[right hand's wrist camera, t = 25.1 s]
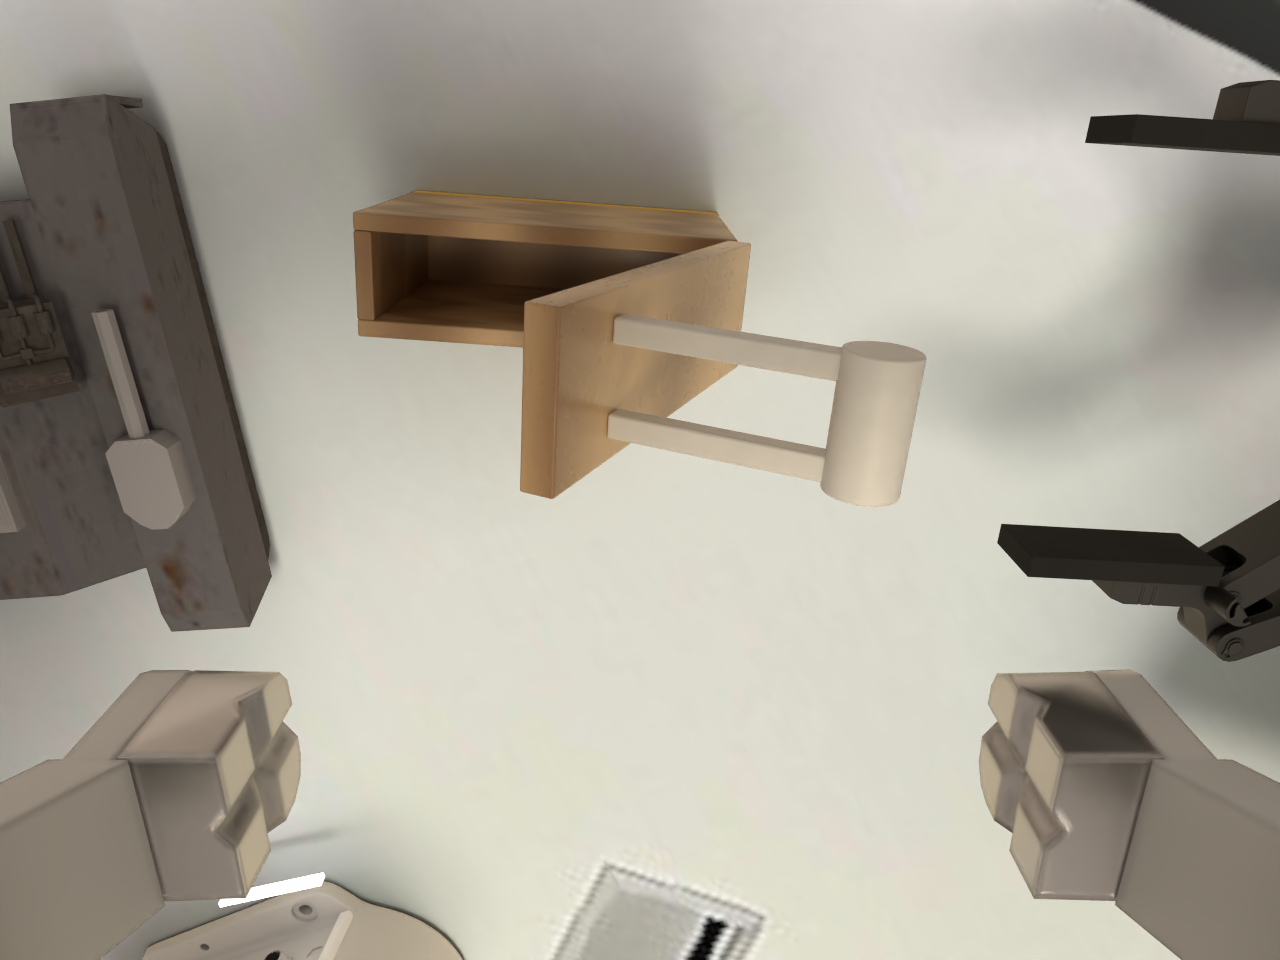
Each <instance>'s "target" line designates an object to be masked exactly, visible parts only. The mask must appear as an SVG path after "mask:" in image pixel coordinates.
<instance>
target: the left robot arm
mask: <svg viewBox="0 0 1280 960" xmlns="http://www.w3.org/2000/svg"><path fill="white" fill-rule="evenodd" d="M1085 143H1097V144H1112V145H1127V146H1142V147H1157V148H1172V149H1187V150H1202V151H1216V152H1231V153H1246V154H1261V155H1276V156H1280V81H1278V80H1265V81H1254V82H1244V83H1238V84H1235V85H1232V86H1229V87H1226V88H1223V89H1221V91H1220V94H1219V98H1218V102H1217V106H1216V110H1215V113H1214V117H1213V120H1211V119H1197V118H1182V117H1167V116H1152V115H1138V114H1136V115H1115V116H1094V117H1091V118H1090V123H1089V128H1088V132H1087V137H1086V141H1085ZM997 543H998V544H999V545H1000V546H1001V548H1002V549H1003V550H1004V551H1005V552H1006V553H1007V554H1008V555H1009V556H1010V558H1011V559H1012V560H1013V561H1014V562H1015V563H1016V564H1017V565H1018V566H1019V567H1020V569H1021V570H1022V571H1023V572H1024V573H1025V574H1026V575H1027V576H1028V577H1044V578H1063V579H1082V580H1092V581H1093V582H1094V583H1095V584H1096V585H1097V586H1098V587H1100V588H1101V589H1102V590H1103V591H1104V592H1105V593H1106V594H1107V595H1108V596H1109V597H1110V598H1112V599H1114V600H1116V601H1118V602H1121V603H1123V604H1141V605H1150V604H1151V605H1159V606H1178V607H1180V609H1179V611H1178V613H1177V619H1178V621H1179V622H1180V624H1181V625H1183V626H1184V627H1185V628H1186V629H1187V630H1188V631H1189V632H1190V633H1192V634H1193V635H1194V636H1195V637H1196V638H1197V639H1198V640H1199V641H1201V642H1202V643H1203V644H1204V645H1205V646H1206V647H1207V648H1209V649H1210V650H1211V651H1212V652H1213V653H1214V654H1215V655H1217V656H1218V657H1219V658H1220V659H1222V660H1223V661H1229V662H1231V661H1236V660H1239V659H1242V658H1245V657H1248V656H1251V655H1254V654H1257V653H1260V652H1263V651H1266V650H1269V649H1272V648H1275V647H1278V646H1280V500H1279V501H1277V502H1275V503H1273V504H1272V505H1270V506H1268V507H1267V508H1265V509H1263V510H1262V511H1260V512H1258V513H1256V514H1255V515H1253V516H1251V517H1250V518H1248V519H1246V520H1245V521H1243V522H1241V523H1240V524H1238V525H1236V526H1234V527H1233V528H1231V529H1229V530H1228V531H1226V532H1224V533H1223V534H1221V535H1219V536H1217V537H1216V538H1214V539H1212V540H1211V541H1209V542H1207V543H1206V544H1204V545H1202V546H1201V547H1199V548H1198V547H1197V546H1196V545H1194V544H1193V543H1191V542H1190V541H1189V540H1187V539H1186V538H1185V537H1183V536H1182V535H1180V534H1178V533H1159V532H1141V531H1122V530H1104V529H1085V528H1067V527H1048V526H1030V525H1011V524H1001V529H1000V533H999V538H998V542H997Z"/></svg>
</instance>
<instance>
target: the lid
mask: <svg viewBox="0 0 1280 960" xmlns="http://www.w3.org/2000/svg"><path fill="white" fill-rule="evenodd" d="M750 249H751V244H750V243H744V242H735V241H726V242H722V243H719V244H716V245H712V246H709V247H706V248H702V249H699V250H696V251H693V252H689V253H686V254H683V255H679V256H676V257H673V258H669V259H666V260H663V261H659V262H656V263H653V264H649V265H646V266H643V267H639V268H636V269H633V270H629V271H626V272H623V273H619V274H616V275H613V276H609V277H606V278H603V279H599V280H596V281H593V282H589V283H586V284H583V285H579V286H576V287H573V288H569V289H566V290H563V291H559V292H556V293H553V294H549V295H546V296H543V297H539V298H536V299H533V300H530V301H526V302H525V304H524V346H523V389H522V433H521V477H520V490H521V492H525V493H529V494H533V495H537V496H542V497H546V498H550V499H553V498H555V497H556V496H558V495H559V494H561V493H562V492H563V491H565V490H566V489H568V488H569V487H570V486H572V485H573V484H574V483H576V482H577V481H579V480H580V479H581V478H583V477H584V476H586V475H587V474H588V473H590V472H591V471H593V470H594V469H595V468H597V467H598V466H600V465H601V464H602V463H604V462H605V461H606V460H608V459H609V458H611V457H612V456H613V455H615V454H616V453H618V452H619V451H620V450H622V449H623V448H625V447H626V446H627V445H629V444H630V443H635V444H640V445H644V446H649V447H654V448H659V449H664V450H669V451H673V452H678V453H683V454H688V455H693V456H697V457H702V458H707V459H712V460H717V461H721V462H726V463H731V464H736V465H741V466H746V467H750V468H755V469H760V470H765V471H770V472H774V473H779V474H784V475H789V476H794V477H798V478H803V479H808V480H813V481H818V482H821V484H820V485H821V489H822V490H823V491H824V493H826V494H827V495H829V496H830V497H832V498H834V499H836V500H839V501H842V502H845V503H849V504H853V505H858V506H867V507H882V506H888V505H891V504H894V503H896V502H897V501H898V499H899V498H900V493H901V488H902V482H903V477H904V472H905V467H906V462H907V456H908V451H909V446H910V441H911V436H912V430H913V425H914V420H915V415H916V410H917V404H918V399H919V394H920V389H921V384H922V378H923V373H924V368H925V363H926V356H925V354H923V353H922V352H920V351H918V350H916V349H913V348H910V347H907V346H903V345H898V344H892V343H886V342H876V341H855V342H849V343H846V344H844V345H843V346H842V348H841V347H835V346H828V345H822V344H815V343H809V342H803V341H796V340H790V339H783V338H777V337H771V336H764V335H758V334H751V333H745V332H741V329H742V320H743V311H744V302H745V293H746V285H747V276H748V267H749V258H750ZM737 364H738V365H744V366H750V367H755V368H761V369H767V370H773V371H779V372H785V373H791V374H797V375H803V376H809V377H815V378H820V379H826V380H832V381H836V387H835V394H834V400H833V407H832V413H831V419H830V426H829V432H828V439H827V445H826V449H823V448H818V447H813V446H808V445H803V444H798V443H793V442H788V441H782V440H777V439H772V438H767V437H762V436H757V435H752V434H747V433H741V432H736V431H731V430H726V429H721V428H716V427H711V426H706V425H700V424H695V423H690V422H685V421H680V420H675V419H670V418H666V417H668V416H669V415H670V414H672V413H673V412H675V411H676V410H677V409H679V408H680V407H682V406H683V405H684V404H686V403H687V402H689V401H690V400H691V399H693V398H694V397H696V396H697V395H698V394H700V393H701V392H702V391H704V390H705V389H707V388H708V387H709V386H711V385H712V384H714V383H715V382H716V381H718V380H719V379H721V378H722V377H723V376H725V375H726V374H728V373H729V372H730V371H732V370H733V369H734V368H736V367H737Z"/></svg>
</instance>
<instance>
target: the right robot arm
mask: <svg viewBox="0 0 1280 960" xmlns="http://www.w3.org/2000/svg"><path fill="white" fill-rule="evenodd" d="M291 705H292V701H291V696H290V691H289V687H288V682H287V679H286V678H285V677H284V676H283V675H282V674H281V673H279V672H245V671H196V670H195V671H189V670H152V671H148V672H145V673H141V674H139V676H138V677H137V678H136V679H135V680H134V681H133V682H132V683H131V684H130V685H129V686H128V688H127V689H126V690H125V691H124V692H123V693H122V694H121V695H120V696H119V698H118V699H117V700H116V701H115V702H114V703H113V704H112V705H111V706H110V708H109V709H108V710H107V711H106V712H105V713H104V714H103V715H102V716H101V717H100V719H99V720H98V721H97V722H96V723H95V724H94V725H93V726H92V727H91V729H90V730H89V731H88V732H87V733H86V734H85V735H84V736H83V737H82V739H81V740H80V741H79V742H78V743H77V744H76V745H75V746H74V747H73V748H72V750H71V751H70V752H69V753H68V754H67V755H66V756H65V757H64V758H63V760H46V761H44V762H42V763H40V764H38V765H36V766H34V767H32V768H30V769H28V770H26V771H24V772H22V773H20V774H18V775H16V776H14V777H12V778H10V779H8V780H6V781H4V782H1V783H0V960H99V959H100V958H102V957H103V956H104V955H105V954H106V953H108V952H109V951H110V950H111V949H113V948H114V947H115V946H116V945H117V944H119V943H120V942H121V941H122V940H123V939H125V938H126V937H127V936H128V935H129V934H131V933H132V932H133V931H134V930H135V929H137V928H138V927H139V926H140V925H141V924H143V923H144V922H145V921H146V920H148V919H149V918H150V917H151V916H152V915H154V914H155V913H156V912H157V911H158V910H160V909H161V908H162V907H163V906H164V905H165V903H164V901H178V900H213V899H221V900H220V901H219V903H218V904H219V906H220V907H224V906H229V905H233V904H238V903H243V902H247V901H252V900H257V899H261V898H266V897H271V896H275V895H279V896H277V897H274V898H272V899H269V900H266V901H264V902H261V903H259V904H256V905H253V906H251V907H248V908H246V909H243V910H241V911H238V912H235V913H233V914H230V915H228V916H225V917H223V918H220V919H217V920H215V921H212V922H210V923H207V924H204V925H202V926H199V927H197V928H194V929H192V930H189V931H186V932H184V933H181V934H179V935H176V936H174V937H171V938H168V939H166V940H163V941H161V942H158V943H156V944H154V945H152V946H150V947H148V948H147V950H146V952H145V954H144V956H143V958H142V960H463V959H462V958H461V956H460V954H459V953H458V952H457V950H456V949H455V948H454V946H453V945H452V944H451V943H450V942H449V941H448V940H447V939H446V938H445V937H444V936H442V935H441V934H440V933H439V932H437V931H436V930H435V929H433V928H432V927H430V926H429V925H427V924H425V923H424V922H422V921H420V920H418V919H416V918H414V917H412V916H409V915H407V914H404V913H401V912H398V911H395V910H392V909H388V908H384V907H380V906H376V905H373V904H370V903H367V902H364V901H362V900H360V899H359V898H357V897H356V896H354V895H353V894H351V893H350V892H348V891H346V890H345V889H343V888H341V887H339V886H337V885H335V884H333V883H330V882H326V881H323V880H324V878H325V875H324V873H319V874H314V875H310V876H305V877H300V878H296V879H291V880H286V881H282V882H277V883H273V884H268V885H263V886H259V887H254V888H252V886H253V884H254V882H255V880H256V878H257V876H258V874H259V872H260V870H261V868H262V866H263V864H264V863H265V861H266V859H267V857H268V855H269V853H270V851H271V850H270V845H269V840H268V834H267V833H268V832H270V831H271V830H273V829H274V828H275V827H277V826H278V825H280V824H281V823H283V822H284V821H285V820H286V819H287V817H288V814H289V812H290V810H291V808H292V806H293V804H294V802H295V798H296V794H297V789H298V784H299V780H300V771H301V754H300V748H299V741H298V736H297V735H296V734H295V733H294V732H293V731H292V730H291V729H290V728H289V727H288V726H287V725H286V724H285V723H284V722H283V719H284V717H285V716H286V714H287V712H288V710H289V709H290V707H291ZM988 705H989V707H990V709H991V710H992V712H993V714H994V716H995V717H996V719H997V722H996V723H995V724H994V725H993V726H992V727H991V728H990V729H989V730H988V731H987V732H986V733H985V734H984V735H983V736H982V742H981V750H980V757H979V768H980V780H981V787H982V791H983V794H984V798H985V801H986V804H987V806H988V808H989V810H990V812H991V815H992V817H993V819H994V820H995V821H996V822H997V823H999V824H1000V825H1002V826H1003V827H1005V828H1006V829H1007V830H1009V831H1010V832H1012V833H1013V834H1012V840H1011V845H1010V850H1009V851H1010V853H1011V855H1012V857H1013V859H1014V861H1015V862H1016V864H1017V866H1018V868H1019V870H1020V872H1021V874H1022V876H1023V878H1024V880H1025V882H1026V884H1027V886H1028V888H1029V890H1030V892H1031V894H1032V896H1033V898H1034V899H1065V900H1101V901H1116V902H1115V905H1116V906H1117V907H1118V908H1120V909H1121V910H1122V911H1123V912H1124V913H1126V914H1127V915H1128V916H1129V917H1130V918H1132V919H1133V920H1134V921H1135V922H1136V923H1138V924H1139V925H1140V926H1141V927H1143V928H1144V929H1145V930H1146V931H1147V932H1149V933H1150V934H1151V935H1152V936H1153V937H1155V938H1156V939H1157V940H1158V941H1159V942H1161V943H1162V944H1163V945H1164V946H1165V947H1167V948H1168V949H1169V950H1170V951H1171V952H1173V953H1174V954H1175V955H1176V956H1177V957H1179V958H1180V959H1181V960H1280V783H1278V782H1276V781H1274V780H1272V779H1270V778H1268V777H1266V776H1264V775H1262V774H1260V773H1258V772H1256V771H1254V770H1252V769H1250V768H1248V767H1246V766H1244V765H1242V764H1240V763H1238V762H1236V761H1234V760H1217V758H1216V757H1215V756H1214V755H1213V754H1212V753H1211V752H1210V751H1209V750H1208V749H1207V747H1206V746H1205V745H1204V744H1203V743H1202V742H1201V741H1200V740H1199V739H1198V737H1197V736H1196V735H1195V734H1194V733H1193V732H1192V731H1191V730H1190V729H1189V727H1188V726H1187V725H1186V724H1185V723H1184V722H1183V721H1182V720H1181V719H1180V717H1179V716H1178V715H1177V714H1176V713H1175V712H1174V711H1173V710H1172V709H1171V707H1170V706H1169V705H1168V704H1167V703H1166V702H1165V701H1164V700H1163V699H1162V698H1161V696H1160V695H1159V694H1158V693H1157V692H1156V691H1155V690H1154V689H1153V688H1152V686H1151V685H1150V684H1149V683H1148V682H1147V681H1146V680H1145V679H1144V678H1143V676H1142V675H1140V674H1138V673H1136V672H1134V671H1132V670H1105V671H1085V672H1051V673H997V675H996V677H995V679H994V681H993V683H992V685H991V690H990V695H989V700H988ZM280 894H282V895H280Z"/></svg>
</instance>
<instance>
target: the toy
mask: <svg viewBox="0 0 1280 960" xmlns="http://www.w3.org/2000/svg"><path fill="white" fill-rule="evenodd" d="M139 107H143V104H142V100H141V99H137V98H128V97H119V96H110V95H106V94H104V95H94V96H84V97H75V98H65V99H55V100H45V101H35V102H26V103H16V104H10V112H11V125H12V137H13V146H14V150H15V153H16V156H17V159H18V163H19V166H20V169H21V172H22V176H23V179H24V182H25V185H26V189H27V192H28V195H29V198H30V199H28V200H16V201H4V202H0V600H4V599H17V598H31V597H45V596H59V595H64V594H67V593H70V592H73V591H76V590H79V589H82V588H85V587H88V586H91V585H94V584H97V583H100V582H103V581H106V580H109V579H112V578H115V577H118V576H121V575H124V574H127V573H130V572H133V571H136V570H139V569H142V568H145V567H146V568H147V571H148V574H149V577H150V580H151V583H152V586H153V589H154V593H155V596H156V599H157V602H158V605H159V608H160V611H161V614H162V616H163V617H164V619H165V621H166V623H167V624H168V626H169V628H170V630H171V631H189V630H205V629H222V628H238V627H250V625H251V622H252V620H253V618H254V616H255V613H256V611H257V609H258V606H259V604H260V602H261V600H262V597H263V595H264V593H265V590H266V588H267V586H268V583H269V581H270V579H271V577H272V576H271V572H270V568H269V564H268V557H269V539H268V534H267V530H266V526H265V523H264V519H263V515H262V511H261V507H260V503H259V499H258V496H257V492H256V488H255V484H254V480H253V476H252V473H251V469H250V465H249V461H248V457H247V453H246V449H245V446H244V442H243V438H242V434H241V430H240V426H239V423H238V419H237V415H236V411H235V407H234V403H233V400H232V396H231V392H230V388H229V384H228V380H227V376H226V373H225V369H224V365H223V361H222V357H221V353H220V350H219V346H218V342H217V338H216V334H215V330H214V326H213V323H212V319H211V315H210V311H209V307H208V303H207V300H206V296H205V292H204V288H203V284H202V280H201V276H200V273H199V269H198V265H197V261H196V257H195V253H194V250H193V246H192V242H191V238H190V234H189V230H188V227H187V223H186V219H185V215H184V211H183V207H182V203H181V200H180V196H179V192H178V188H177V184H176V180H175V177H174V173H173V169H172V165H171V161H170V157H169V153H168V150H167V146H166V144H165V142H164V140H163V139H162V137H161V135H160V134H159V133H158V132H157V131H156V130H155V129H154V128H153V127H151V126H150V125H148V124H147V123H146V122H144V121H143V120H142V119H140V118H139V117H137V116H136V115H135V114H133V113H132V112H130V111H129V110H128V109H127V108H139Z"/></svg>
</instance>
